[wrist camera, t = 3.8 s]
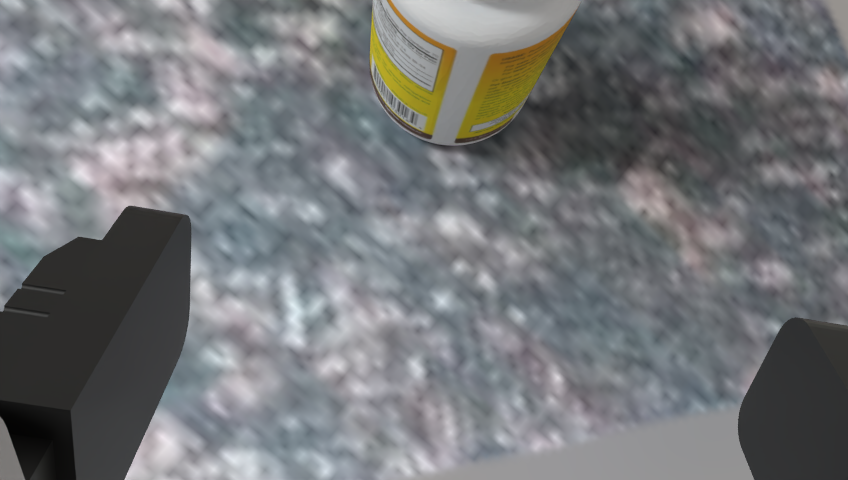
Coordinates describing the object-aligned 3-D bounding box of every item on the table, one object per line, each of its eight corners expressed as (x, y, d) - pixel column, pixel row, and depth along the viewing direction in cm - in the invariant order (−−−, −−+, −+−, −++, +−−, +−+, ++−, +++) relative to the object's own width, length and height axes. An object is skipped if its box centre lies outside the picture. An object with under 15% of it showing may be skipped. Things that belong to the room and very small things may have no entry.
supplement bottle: (539, 23, 28) (645, -188, 19) (510, 168, 27) (606, 24, 17) (387, -15, 28) (411, -250, 18) (350, 129, 27) (354, -40, 17)
